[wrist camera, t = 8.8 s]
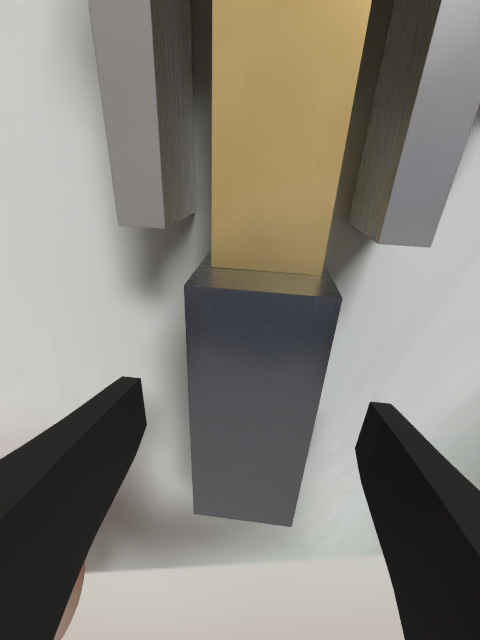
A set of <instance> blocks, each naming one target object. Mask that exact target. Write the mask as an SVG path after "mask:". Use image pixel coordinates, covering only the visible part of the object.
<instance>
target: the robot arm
mask: <svg viewBox="0 0 480 640" xmlns="http://www.w3.org/2000/svg"><path fill="white" fill-rule="evenodd" d="M146 426H147V423H146V416H145V408H144V400H143V393H142V385H141V378H133V377H123V376H122V377H121V378H119V379H118V380H116V381H115V382H114V383H112V384H111V385H109V386H108V387H107V388H105V389H104V390H102V391H101V392H100V393H98V394H97V395H96V396H94V397H93V398H92V399H90V400H89V401H87V402H86V403H85V404H83V405H82V406H80V407H79V408H78V409H76V410H75V411H73V412H72V413H71V414H69V415H68V416H66V417H65V418H64V419H62V420H61V421H59V422H58V423H56V424H55V425H53V426H52V427H50V428H49V429H47V430H46V431H44V432H43V433H41V434H40V435H38V436H36V437H35V438H33V439H32V440H30V441H29V442H27V443H26V444H24V445H23V446H21V447H20V448H18V449H16V450H15V451H13V452H12V453H10V454H8V455H7V456H5V457H3V458H2V459H0V640H54V637H55V635H56V632H57V630H58V627H59V624H60V622H61V619H62V617H63V614H64V611H65V609H66V606H67V604H68V601H69V599H70V596H71V593H72V591H73V588H74V586H75V583H76V581H77V578H78V576H79V573H80V571H81V569H82V566H83V564H84V561H85V559H86V556H87V554H88V551H89V549H90V547H91V544H92V542H93V540H94V538H95V536H96V534H97V532H98V529H99V527H100V525H101V523H102V521H103V519H104V518H105V516H106V514H107V512H108V510H109V508H110V506H111V504H112V502H113V500H114V498H115V496H116V494H117V492H118V490H119V488H120V486H121V484H122V482H123V480H124V478H125V476H126V474H127V472H128V470H129V468H130V466H131V464H132V462H133V460H134V458H135V456H136V453H137V451H138V448H139V445H140V443H141V440H142V437H143V434H144V431H145V428H146ZM355 451H356V457H357V463H358V469H359V474H360V479H361V483H362V487H363V490H364V493H365V497H366V500H367V503H368V506H369V510H370V513H371V516H372V519H373V523H374V526H375V529H376V532H377V535H378V539H379V542H380V545H381V548H382V551H383V555H384V558H385V561H386V564H387V567H388V571H389V574H390V578H391V582H392V585H393V589H394V593H395V598H396V602H397V606H398V610H399V615H400V620H401V624H402V628H403V633H404V637H405V640H480V490H478V489H477V488H476V487H475V486H474V485H473V484H472V483H471V482H470V481H469V480H468V479H466V478H465V477H464V476H463V475H462V474H461V473H460V472H459V471H458V470H457V469H456V468H455V467H454V466H453V465H452V464H451V463H450V462H449V461H448V460H447V459H446V458H445V457H444V456H443V455H441V454H440V453H439V452H438V451H437V450H436V449H435V448H434V447H433V446H432V445H431V444H430V443H429V442H428V441H427V440H426V439H425V438H424V437H423V436H422V434H421V433H420V432H419V431H418V430H417V429H416V428H415V427H414V426H413V425H412V424H411V423H410V422H409V421H408V420H407V419H406V418H405V417H404V416H403V415H402V414H401V413H400V412H399V411H398V410H397V409H396V408H395V407H394V406H393V405H391V404H387V403H378V402H370V404H369V407H368V410H367V413H366V416H365V419H364V422H363V425H362V428H361V431H360V434H359V438H358V441H357V444H356V447H355Z"/></svg>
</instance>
